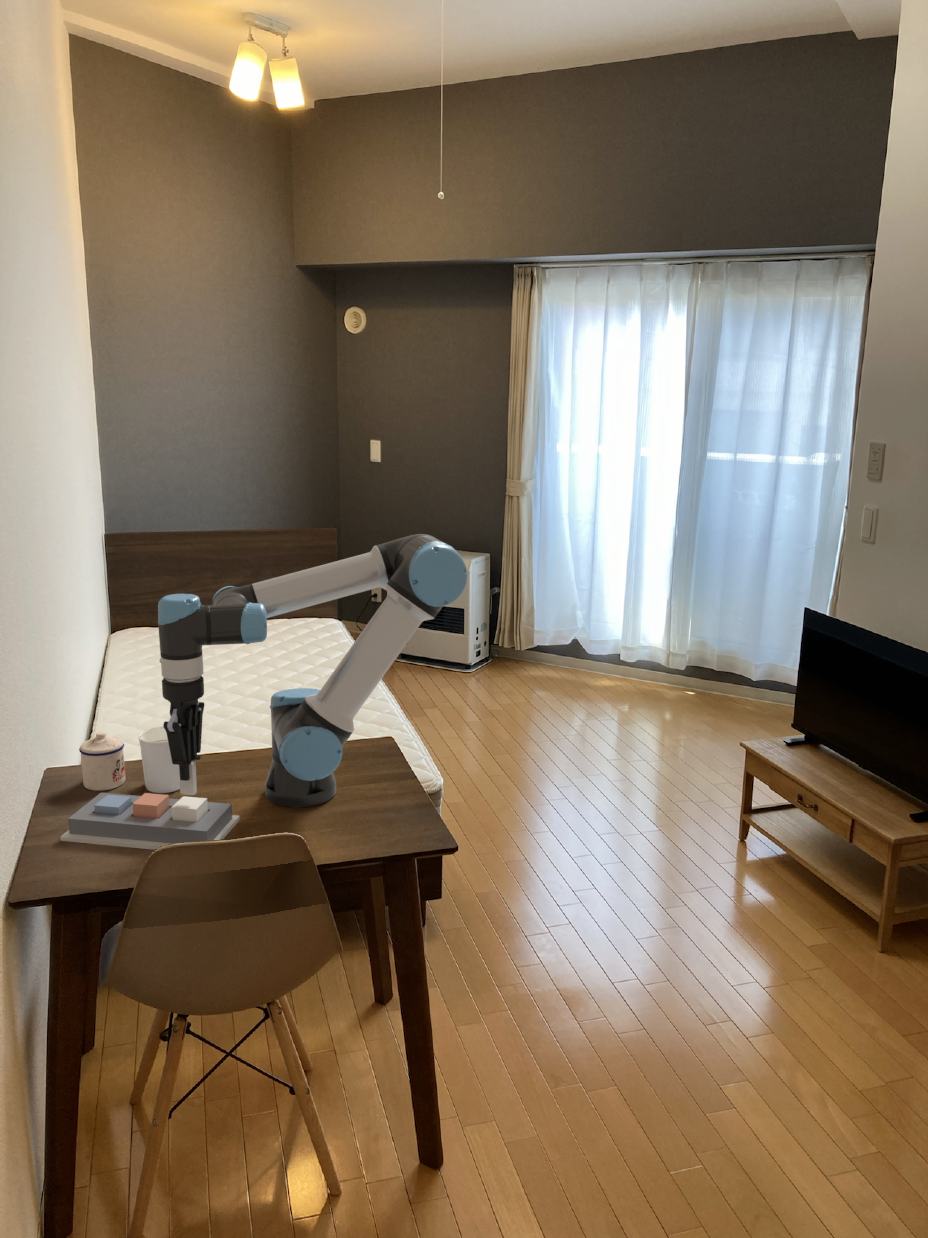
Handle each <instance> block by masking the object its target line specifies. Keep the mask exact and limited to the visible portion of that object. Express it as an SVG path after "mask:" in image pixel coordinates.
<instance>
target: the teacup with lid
mask: <svg viewBox="0 0 928 1238" xmlns="http://www.w3.org/2000/svg"><path fill="white" fill-rule="evenodd" d="M124 747H125V743H124V741H123V740H122V739H120V738H118V737H117V736H116V737H115V736H110V735H107V734H106V732H105V731H99V732H97V733H96V734H95V736H94V737H92V738H90V739H88V740H85V741H83V742H82V743H81V744H80V746H79V749H78V751H79V753H80V757H81V758H80V759H81V771H82V781H83V782H82V783H83V786H84V788H85V789H87V790H90V791H96V792H98V791H101V792H102V791H109V790H113V789H117V788H119V787H120V786H122V785H124V784H125V781H126V768H125V757H124V754H125V753H124Z"/></svg>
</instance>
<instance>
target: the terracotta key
mask: <svg viewBox="0 0 928 1238" xmlns="http://www.w3.org/2000/svg"><path fill="white" fill-rule="evenodd" d="M140 796H141V797H140V798H139V799H137V800H136V801H135V802H134V803H133V817H143V818H154V819H159V818H160V817H161V816H162V815H163V814H164V813H165V812H166V811H168V810H169V809H170V807H169V799H170V796H169V794H164V793H152V792H144V793H143V794H142V795H140Z"/></svg>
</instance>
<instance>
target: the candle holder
mask: <svg viewBox="0 0 928 1238" xmlns="http://www.w3.org/2000/svg"><path fill="white" fill-rule="evenodd" d="M138 741H139V747H140V748H139V749H140V756H141V763H142V769H143V770H142V771H143V778H144V784H145V788H146V790H147V791H149V793H152V794H169V793H172V792H173V793H174V792H177V791H179V790H180V777H179V765H176V764H173V763H172V759H171V753H170V748H169V743H168V738H167V733H166V731H165V729H164V726H157V727H150V728H147V729H146V730H143V731H142V732H141V733H139V735H138Z"/></svg>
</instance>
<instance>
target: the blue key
mask: <svg viewBox="0 0 928 1238" xmlns="http://www.w3.org/2000/svg"><path fill="white" fill-rule="evenodd" d="M131 805H132V802H131V797H130V796H118V795H107V796H105V797H104V798H103V799H102V800H100V801H99V802H98V803H97V804H95V805H94V807H95V813H99V814H110V815H121V814H122V813H123V812H124V811H125V810H127V809H128V808H129V807H130V806H131Z"/></svg>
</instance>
